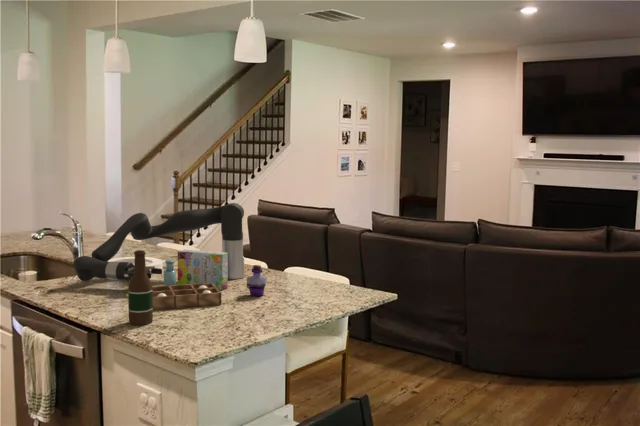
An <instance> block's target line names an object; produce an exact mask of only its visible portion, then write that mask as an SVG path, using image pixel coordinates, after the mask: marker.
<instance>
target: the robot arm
mask: <svg viewBox="0 0 640 426" xmlns="http://www.w3.org/2000/svg"><path fill="white" fill-rule="evenodd" d="M244 216H245V210H244V208H243V206H242V205H240V204H239V203H236V202H230V203H227V204H225V205H220V206H217V207H212V208H195V209H188V210H181V211H177V212H176V213H174V214H172V215H171V216H170V217H169V218H168V219H167V220H165V221H163V223H160V224H156V225H151V223H150V220H149V217H148V216H147V215H146V213H144V212H137V213H134V214H132V215H131V216H130V217H129V218H127V219H126V220H125V221H124V222H123V224H121V226H119V228H117V230H116V231H115V232H114V233H113V234H112V235H111V236H110V237H109V238H108V239H106V241H105V242H103V243H102V244H101V245H99V246H98V247H96V248H95V249H94V250H93V251H92V252H91V256H90V255H89V256H88V255H80V256H78V257H76V258H75V259H74V260H73V263H72V265H73V269H74V270H75V273H76V275H77V277H78V279H79V280H80V281H82V282H89V281H90V280H93V279H94V278H95V277H96V278H98V279H105V280H106V279H107V280H112V281H124V282H130V280H131V278H132V277H133V274H134V264H133V263H131V262H107V261H109V260H110V259H113V258H115V256H116V255H117V254H118V252H119V251H120V249H121V247H122V245H123V244H124V242H125V240H126V238H127V237H128V235H129V234H130V235H131V237H132V239H133V240H135V241H143V240H147V239H148V240H150V239H152V238H157V237H160V236H165V235H169V234H170V235H172V234H176V233H185V232H191V231H195V230H199V229H203V228H206V227H209V226H212V225H218V224H220V225H221V227H220V231H221V243H222V244H221V248H222V249H221V252H224V253H228V280H239V279H242V278H243V279H244V278H245V257H244V241H243V240H244V232H243V219H244ZM150 269H151V271H150ZM146 273H147V276H148V278H149V279H150V280H151V279H152V276H151V274H156V275H163V271H162V269H159V268H155V267H154V266H146Z"/></svg>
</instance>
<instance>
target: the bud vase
mask: <svg viewBox="0 0 640 426" xmlns="http://www.w3.org/2000/svg"><path fill="white" fill-rule="evenodd" d="M165 260H166V261H165V263H166V267H165V268H166V269H164V270H163V286H169V285H177V270H176V269H174V266H175V265H174V263H175V261H176V260H174V259H165Z"/></svg>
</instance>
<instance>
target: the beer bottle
mask: <svg viewBox="0 0 640 426" xmlns="http://www.w3.org/2000/svg"><path fill="white" fill-rule="evenodd" d="M133 255H134V257H135V263H134V274H133V277H132V278H131V280H130V281H128V289H127V293H128V294H127V297H128V300H127V301H128V302H127V303H128V322H129V325H131V326H136V327H139V326H140V327H141V326H148V325H150V324H152V323H153V320H154V319H153V318H154V316H153V315H154V314H153V311H154V310H153V295H152V287H153V283H152V281H151V278H150V279H149V278H148V276H147V273H146V264H145V257H146V255H147V254H146V251H145V250H142V249H140V250H139V249H138V250H134V252H133Z"/></svg>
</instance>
